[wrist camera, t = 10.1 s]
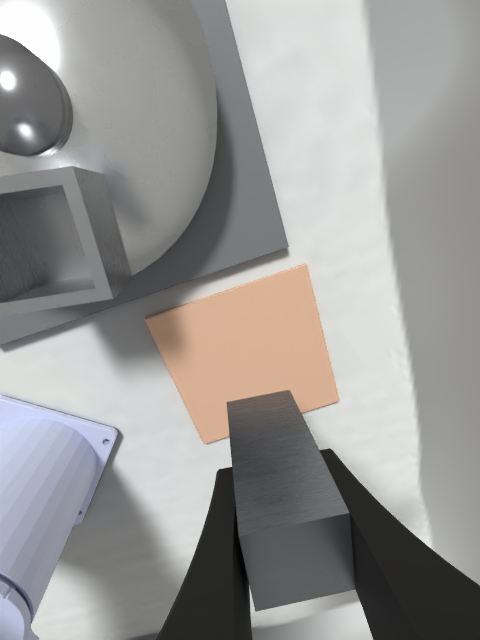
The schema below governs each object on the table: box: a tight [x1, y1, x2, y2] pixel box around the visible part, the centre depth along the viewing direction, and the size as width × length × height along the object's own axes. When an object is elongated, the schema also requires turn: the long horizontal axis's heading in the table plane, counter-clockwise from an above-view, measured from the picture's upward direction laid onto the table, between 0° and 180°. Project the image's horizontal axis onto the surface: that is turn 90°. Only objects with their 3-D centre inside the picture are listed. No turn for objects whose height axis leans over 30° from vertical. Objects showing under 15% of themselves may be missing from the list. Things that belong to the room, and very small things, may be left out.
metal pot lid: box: [0, 0, 217, 317], centre depth 11 cm, size 15×15×5 cm
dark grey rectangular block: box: [226, 390, 355, 611], centre depth 12 cm, size 3×3×6 cm
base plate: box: [0, 0, 289, 345], centre depth 14 cm, size 18×18×1 cm
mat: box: [145, 264, 339, 444], centre depth 20 cm, size 10×10×1 cm
